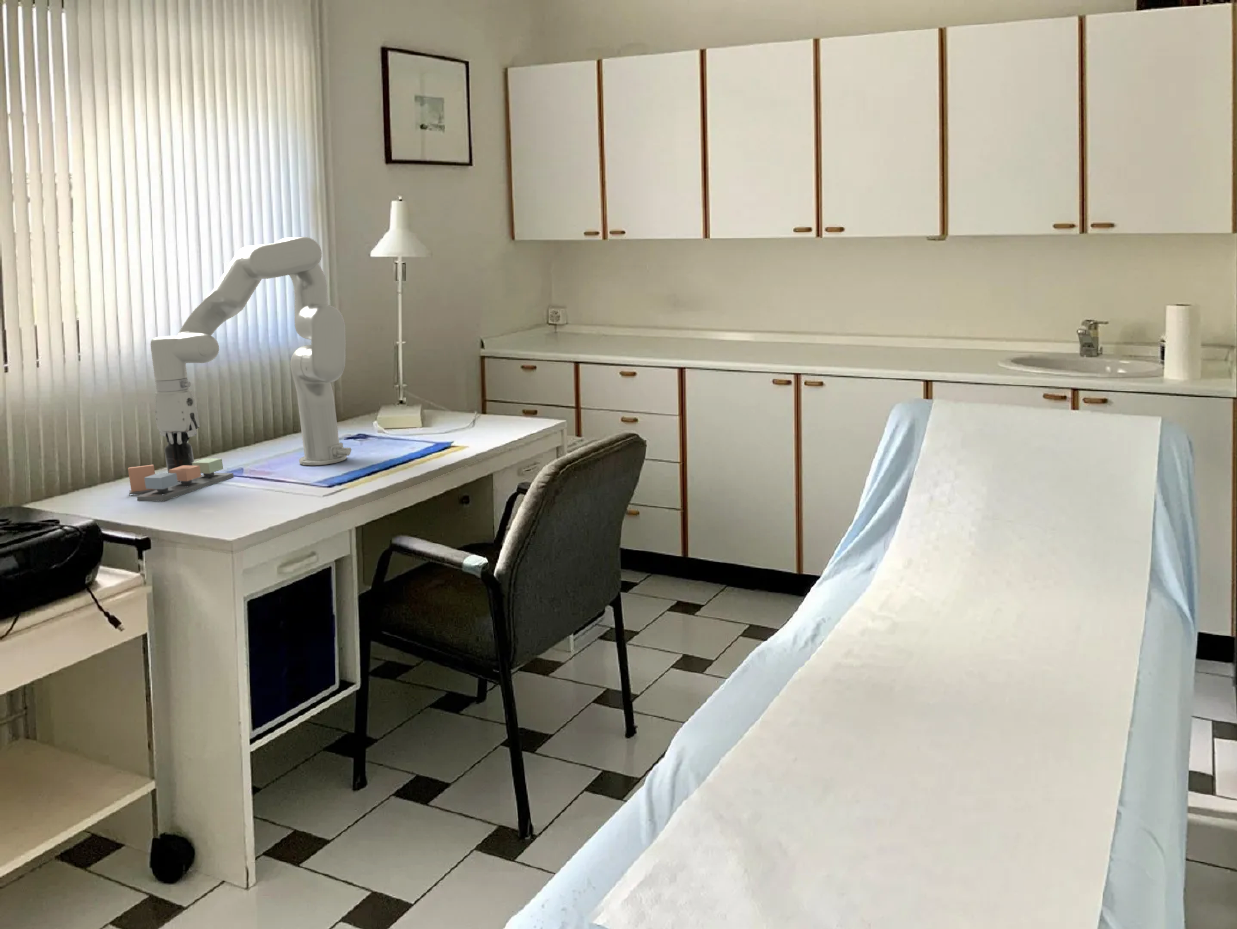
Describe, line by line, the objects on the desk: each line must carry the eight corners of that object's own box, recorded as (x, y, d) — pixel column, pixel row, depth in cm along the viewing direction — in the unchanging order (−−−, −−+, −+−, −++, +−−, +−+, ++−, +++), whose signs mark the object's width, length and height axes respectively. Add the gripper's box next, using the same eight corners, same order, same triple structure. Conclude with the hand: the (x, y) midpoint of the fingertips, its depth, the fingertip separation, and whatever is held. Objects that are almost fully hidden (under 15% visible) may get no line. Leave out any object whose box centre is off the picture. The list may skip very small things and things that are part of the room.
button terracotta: (201, 480, 296) (199, 465, 295) (187, 485, 291) (185, 470, 291) (185, 479, 298) (183, 465, 297) (170, 484, 293) (168, 469, 292)
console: (233, 476, 306) (233, 473, 305) (163, 501, 282) (163, 497, 282) (208, 476, 308) (208, 472, 308) (137, 500, 285) (136, 496, 284)
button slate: (178, 488, 288) (176, 473, 288) (163, 493, 284) (161, 477, 283) (161, 487, 290) (159, 472, 289) (146, 492, 286) (144, 477, 285)
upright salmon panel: (129, 492, 294) (125, 467, 293) (159, 488, 297) (155, 463, 295) (129, 495, 291) (125, 469, 289) (159, 491, 293) (155, 465, 292)
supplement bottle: (185, 474, 312) (179, 430, 310) (201, 476, 309) (195, 432, 306) (163, 480, 307) (156, 435, 304) (179, 482, 303) (172, 436, 301)
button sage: (223, 472, 304) (221, 458, 303) (210, 477, 299) (208, 462, 298) (207, 472, 306) (205, 458, 305) (193, 477, 301) (191, 462, 300)
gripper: (206, 384, 290) (215, 456, 294) (158, 384, 296) (168, 455, 299) (186, 388, 284) (195, 462, 287) (137, 388, 289) (147, 461, 292)
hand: (181, 458), depth 293 cm, fingers closed
